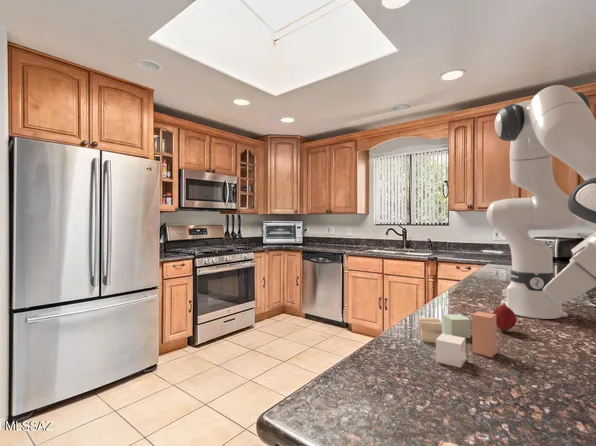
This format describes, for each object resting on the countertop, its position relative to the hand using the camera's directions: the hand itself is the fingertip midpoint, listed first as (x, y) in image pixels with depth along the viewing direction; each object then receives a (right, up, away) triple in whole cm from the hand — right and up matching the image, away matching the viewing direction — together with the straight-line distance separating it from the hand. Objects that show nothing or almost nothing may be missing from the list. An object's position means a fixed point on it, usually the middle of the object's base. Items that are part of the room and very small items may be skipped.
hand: (538, 303), depth 68 cm
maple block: (-16, -14, +17) cm, 27 cm away
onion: (+7, -14, +22) cm, 27 cm away
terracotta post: (-7, -14, +8) cm, 17 cm away
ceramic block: (-17, -14, +3) cm, 22 cm away
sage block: (-8, -14, +20) cm, 25 cm away
